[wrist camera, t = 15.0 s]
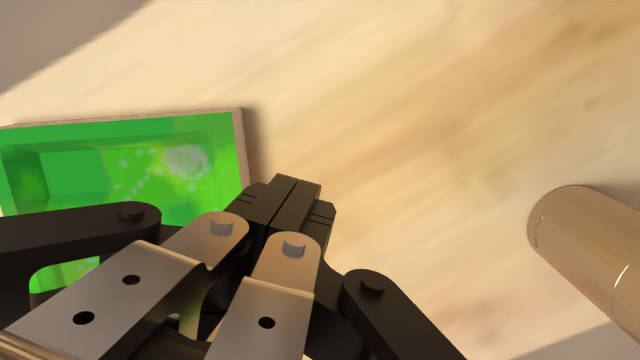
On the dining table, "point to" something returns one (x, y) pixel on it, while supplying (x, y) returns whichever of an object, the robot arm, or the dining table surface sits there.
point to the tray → (122, 169)
